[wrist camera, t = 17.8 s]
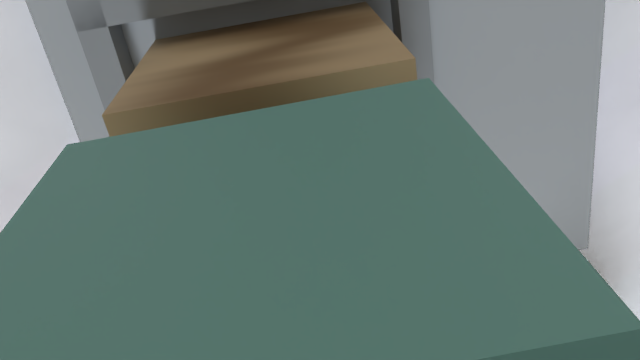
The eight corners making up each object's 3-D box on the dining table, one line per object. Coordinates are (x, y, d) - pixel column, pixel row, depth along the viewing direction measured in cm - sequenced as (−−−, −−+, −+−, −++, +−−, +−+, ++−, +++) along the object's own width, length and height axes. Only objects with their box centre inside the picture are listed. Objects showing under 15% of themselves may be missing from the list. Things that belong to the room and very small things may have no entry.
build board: (594, -122, 16) (640, -123, 14) (574, 233, 22) (605, 267, 20) (32, -21, 16) (0, -8, 14) (156, 309, 22) (145, 351, 20)
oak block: (365, 1, 16) (415, 57, 11) (388, 186, 19) (435, 304, 14) (155, 39, 16) (102, 114, 11) (208, 219, 19) (186, 350, 14)
